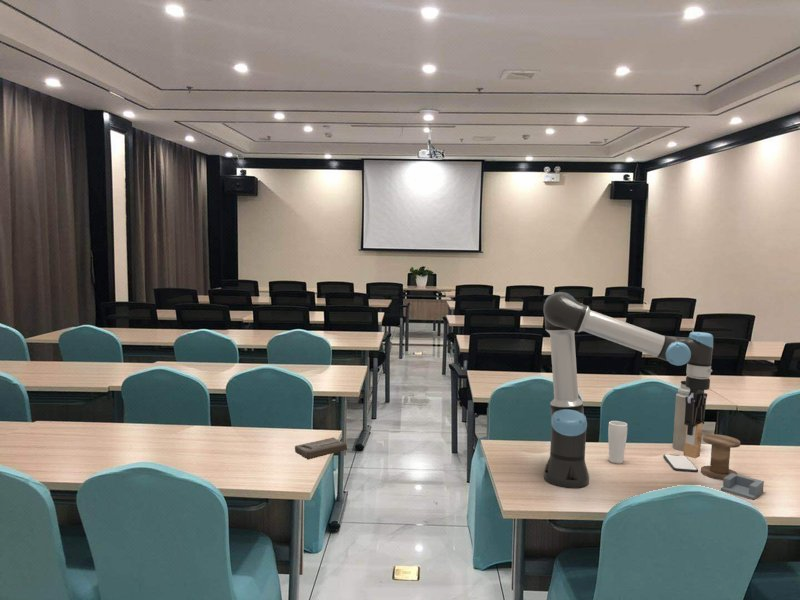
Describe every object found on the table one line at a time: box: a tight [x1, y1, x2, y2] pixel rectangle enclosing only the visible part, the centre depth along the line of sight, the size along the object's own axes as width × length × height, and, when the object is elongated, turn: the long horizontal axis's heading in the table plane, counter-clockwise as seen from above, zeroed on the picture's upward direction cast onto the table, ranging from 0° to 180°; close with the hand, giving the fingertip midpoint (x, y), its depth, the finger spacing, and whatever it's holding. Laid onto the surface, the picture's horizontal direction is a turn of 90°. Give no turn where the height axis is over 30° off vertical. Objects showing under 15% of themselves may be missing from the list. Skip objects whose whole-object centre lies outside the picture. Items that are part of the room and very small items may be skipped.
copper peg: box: [683, 421, 704, 459], centre depth 210 cm, size 4×4×12 cm
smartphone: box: [662, 453, 699, 474], centre depth 229 cm, size 9×2×16 cm
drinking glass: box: [607, 420, 628, 465], centre depth 229 cm, size 7×7×15 cm
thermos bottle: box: [672, 380, 690, 452], centre depth 247 cm, size 8×8×28 cm
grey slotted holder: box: [720, 473, 765, 500], centre depth 203 cm, size 10×10×4 cm
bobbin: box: [700, 433, 741, 481], centre depth 218 cm, size 12×12×13 cm
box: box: [294, 437, 348, 461], centre depth 231 cm, size 11×17×3 cm, turn 127°
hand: (692, 442), depth 210 cm, fingers closed on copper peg, 4 cm apart
